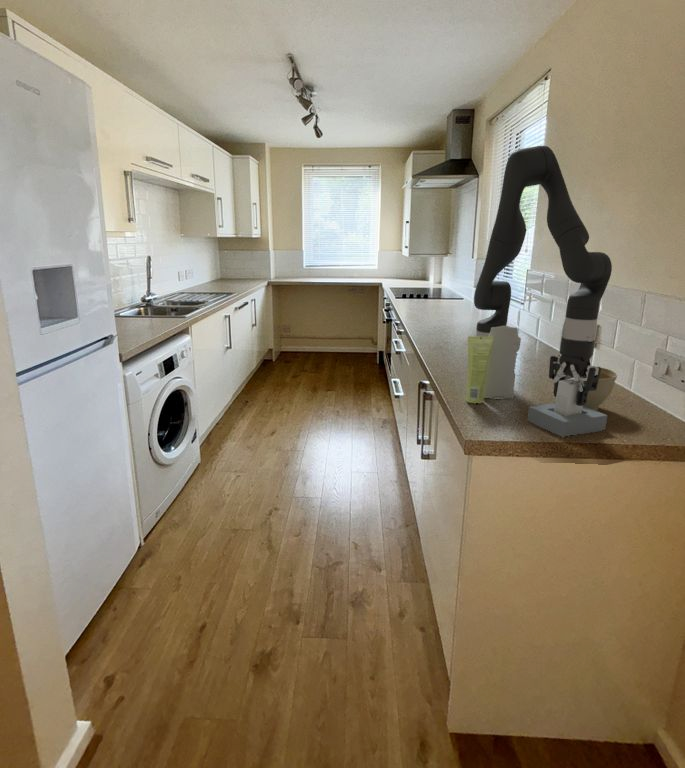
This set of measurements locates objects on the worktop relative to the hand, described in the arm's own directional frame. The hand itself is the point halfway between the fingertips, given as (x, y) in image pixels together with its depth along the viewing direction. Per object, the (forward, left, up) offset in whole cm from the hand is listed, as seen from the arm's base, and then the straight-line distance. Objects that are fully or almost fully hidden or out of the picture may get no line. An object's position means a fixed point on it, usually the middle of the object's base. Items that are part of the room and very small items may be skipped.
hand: (568, 400), depth 124 cm
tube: (-16, -21, -7) cm, 27 cm away
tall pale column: (-21, -14, -7) cm, 26 cm away
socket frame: (0, 0, -7) cm, 7 cm away
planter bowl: (-16, +8, -7) cm, 19 cm away
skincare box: (0, 0, -7) cm, 7 cm away
